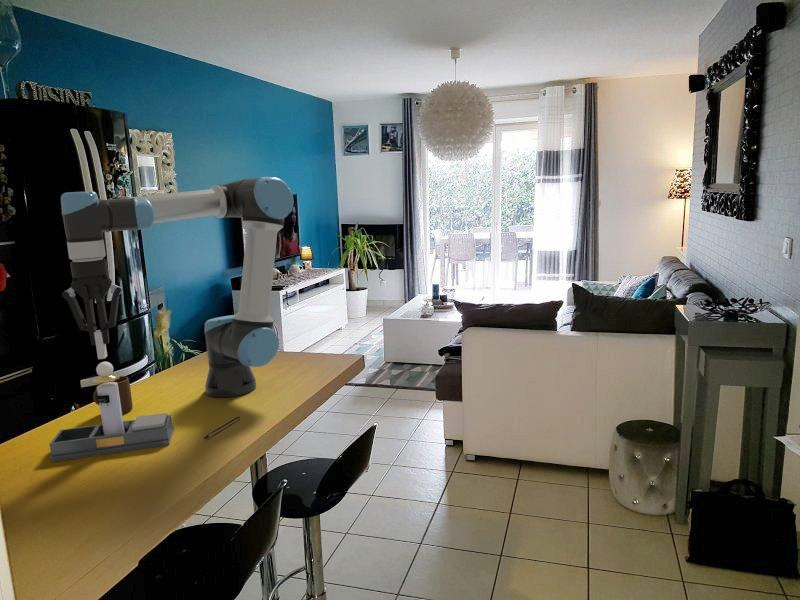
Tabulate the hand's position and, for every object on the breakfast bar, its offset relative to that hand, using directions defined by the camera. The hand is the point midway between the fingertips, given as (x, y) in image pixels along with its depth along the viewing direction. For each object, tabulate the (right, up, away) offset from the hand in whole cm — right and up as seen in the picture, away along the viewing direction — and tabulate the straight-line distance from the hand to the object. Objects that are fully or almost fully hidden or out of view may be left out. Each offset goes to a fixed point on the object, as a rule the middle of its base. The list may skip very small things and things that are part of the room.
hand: (102, 357), depth 139 cm
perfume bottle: (+1, -21, +4) cm, 21 cm away
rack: (+1, -22, +4) cm, 22 cm away
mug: (-10, -19, +25) cm, 33 cm away
